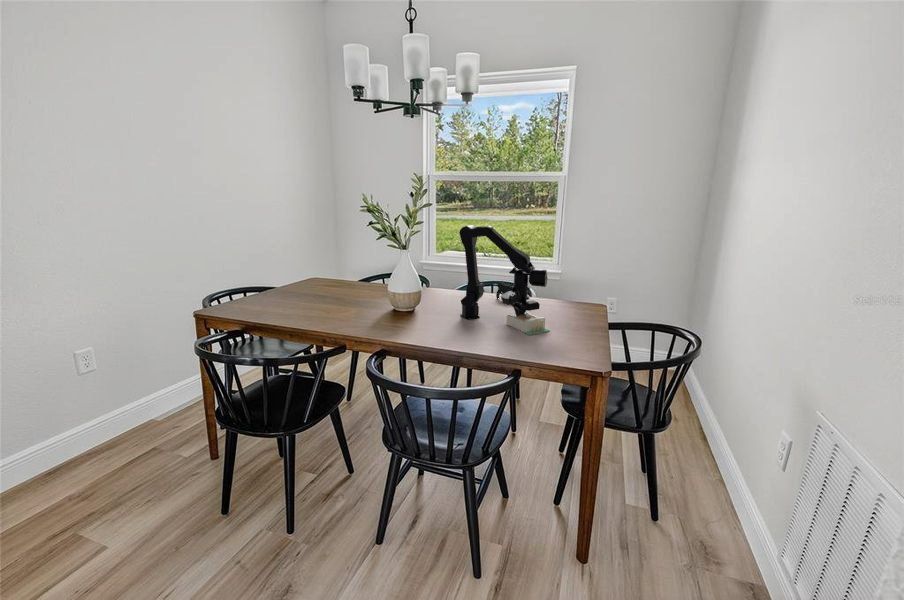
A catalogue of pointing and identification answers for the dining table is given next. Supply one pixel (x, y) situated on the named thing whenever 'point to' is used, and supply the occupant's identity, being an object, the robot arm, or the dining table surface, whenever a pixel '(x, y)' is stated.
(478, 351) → the dining table surface
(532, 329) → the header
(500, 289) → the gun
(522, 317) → the orange base grey top
